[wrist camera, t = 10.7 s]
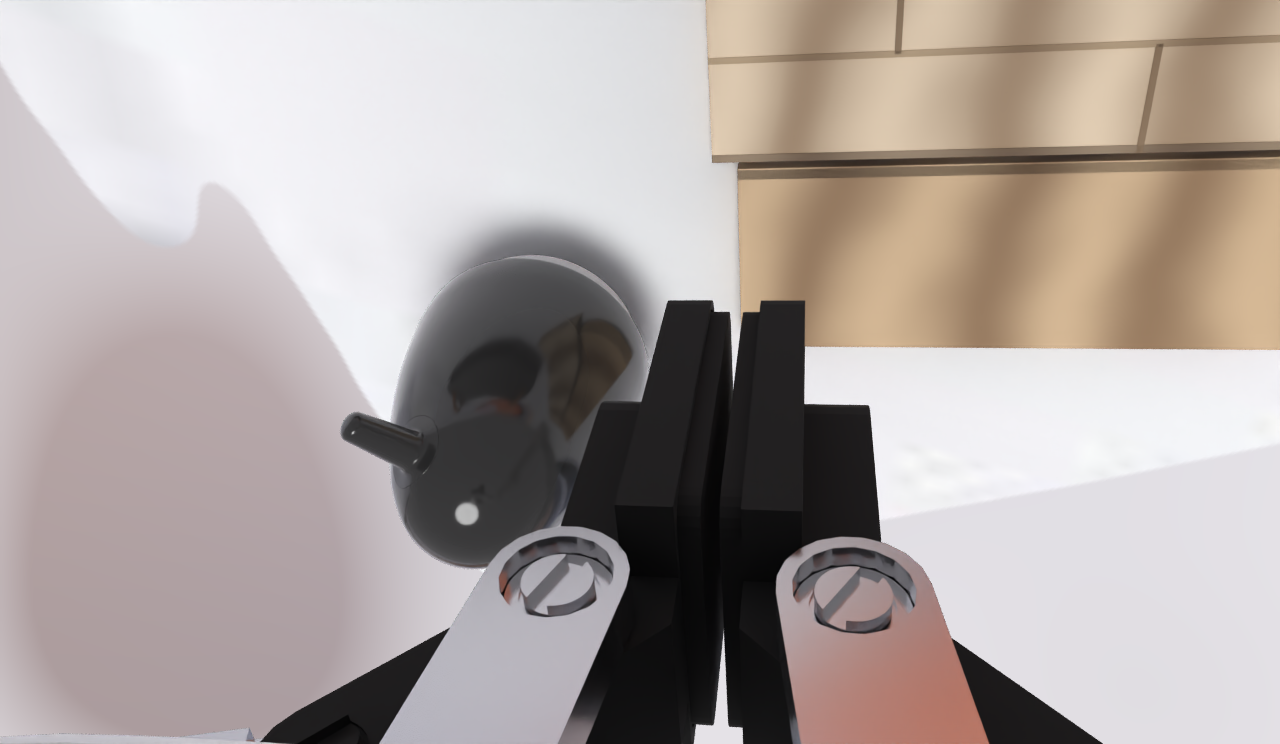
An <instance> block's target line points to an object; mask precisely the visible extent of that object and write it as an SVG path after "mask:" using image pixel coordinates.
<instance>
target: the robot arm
mask: <svg viewBox="0 0 1280 744" xmlns="http://www.w3.org/2000/svg"><path fill="white" fill-rule="evenodd" d="M804 374H805V300H761V303H760V312H743V316H742V324H741V332H740V340H739V348H738V356H737V364H736V372H735V380H734V389H733V376H732V347H731V320H730V312H714V305H713V301H712V300H685V301H668V303H667V305H666V309H665V313H664V317H663V321H662V325H661V328H660V332H659V336H658V340H657V344H656V348H655V351H654V355H653V359H652V363H651V367H650V370H649V374H648V378H647V382H646V386H645V390H644V393H643V397H642V401H641V402H637V401H604V402H602V403H601V405H600V407H599V409H598V412H597V415H596V418H595V421H594V424H593V427H592V430H591V433H590V437H589V440H588V443H587V446H586V449H585V452H584V455H583V458H582V461H581V464H580V468H579V471H578V474H577V477H576V480H575V483H574V486H573V489H572V492H571V495H570V498H569V502H568V505H567V508H566V511H565V514H564V517H563V520H562V523H561V526H559V527H553V528H547V529H541V530H537V531H535V532H532V533H530V534H527V535H525V536H522V537H520V538H518V539H516V540H515V541H513V542H512V543H510V544H509V545H507V546H506V547H504V548H503V549H501V551H500V552H499V553H498V554H497V555H496V556H495V558H494V559H493V560H492V561H491V562H490V563H489V565H488V567H487V568H486V570H485V571H484V573H483V575H482V576H481V578H480V580H479V581H478V583H477V585H476V586H475V588H474V589H473V591H472V593H471V594H470V596H469V598H468V600H467V601H466V603H465V604H464V606H463V607H462V610H461V611H460V612H459V614H458V616H457V617H456V619H455V621H454V622H453V624H452V626H451V627H450V628H448V629H447V630H445V631H443V632H441V633H439V634H437V635H436V636H434V637H432V638H430V639H428V640H427V641H424V642H423V643H421V644H419V645H417V646H415V647H414V648H412V649H410V650H408V651H406V652H404V653H403V654H401V655H399V656H397V657H396V658H394V659H392V660H390V661H388V662H386V663H384V664H382V665H381V666H379V667H377V668H375V669H373V670H371V671H370V672H368V673H366V674H364V675H362V676H361V677H359V678H357V679H355V680H353V681H351V682H349V683H348V684H346V685H344V686H342V687H341V688H339V689H337V690H335V691H333V692H331V693H330V694H328V695H326V696H324V697H322V698H320V699H318V700H316V701H315V702H313V703H311V704H309V705H307V706H306V707H304V708H302V709H300V710H298V711H296V712H295V713H294V714H292V715H291V716H289V717H288V718H286V719H285V720H283V721H282V722H281V723H279V724H277V725H276V726H275V727H273V729H272V730H271V731H270V732H269V733H268V734H267V735H266V736H265V737H264V738H261V739H254V737H253V735H252V733H251V730H250V728H244V729H237V730H229V731H221V732H214V733H206V734H198V735H191V736H183V737H160V736H140V735H139V736H138V735H103V734H102V735H101V734H64V733H62V734H45V735H44V734H42V735H23V736H4V737H0V744H694V736H695V728H696V724H699V725H713V724H714V719H715V710H716V701H717V690H718V681H719V671H720V661H721V651H722V641H723V631H724V642H725V662H726V685H727V705H728V724H729V727H742V728H743V744H1103V743H1101V742H1100V741H1098V740H1097V739H1095V738H1094V737H1093V736H1091V735H1090V734H1088V733H1087V732H1085V731H1084V730H1083V729H1081V728H1080V727H1078V726H1077V725H1075V724H1074V723H1073V722H1071V721H1070V720H1068V719H1067V718H1065V717H1064V716H1062V715H1061V714H1060V713H1058V712H1057V711H1055V710H1054V709H1052V708H1051V707H1049V706H1048V705H1047V704H1045V703H1044V702H1042V701H1041V700H1040V699H1038V698H1037V697H1035V696H1034V695H1032V694H1031V693H1030V692H1028V691H1027V690H1025V689H1024V688H1022V687H1021V686H1020V685H1018V684H1017V683H1015V682H1014V681H1012V680H1011V679H1010V678H1008V677H1007V676H1005V675H1004V674H1002V673H1001V672H1000V671H998V670H996V669H995V668H994V667H992V666H991V665H989V664H988V663H987V662H985V661H984V660H982V659H981V658H979V657H978V656H977V655H975V654H974V653H972V652H971V651H969V650H968V649H967V648H965V647H964V646H962V645H961V644H959V643H958V642H957V641H955V640H953V639H952V638H951V636H950V633H949V631H948V628H947V625H946V622H945V619H944V616H943V613H942V611H941V608H940V605H939V602H938V599H937V597H936V594H935V591H934V588H933V586H932V583H931V582H930V580H929V578H928V576H927V575H926V573H925V571H924V570H923V568H922V567H921V566H920V565H919V564H918V563H916V562H915V561H914V560H913V559H912V558H911V557H910V556H909V555H907V554H906V553H904V552H902V551H900V550H898V549H896V548H894V547H892V546H890V545H888V544H886V543H882V542H881V534H880V524H879V523H880V522H879V510H878V498H877V487H876V475H875V463H874V451H873V440H872V428H871V416H870V408H869V406H868V405H819V404H804Z"/></svg>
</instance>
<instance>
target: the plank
mask: <svg viewBox="0 0 1280 744" xmlns="http://www.w3.org/2000/svg"><path fill="white" fill-rule="evenodd" d="M737 170H738V212H739V254H740V296H741V324H742V316H743V312H760V303H761V300H805V346H811V347H952V348H1093V349H1234V350H1280V150H1244V151H1201V152H1158V153H1115V154H1072V155H1029V156H985V157H942V158H899V159H856V160H813V161H770V162H739V164H738V169H737Z"/></svg>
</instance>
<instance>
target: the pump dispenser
mask: <svg viewBox="0 0 1280 744" xmlns="http://www.w3.org/2000/svg"><path fill="white" fill-rule="evenodd" d="M648 374H649V368H648V359H647V353H646V349H645V346H644V343H643V340H642V337H641V335H640V333H639V331H638V329H637V327H636V325H635V323H634V321H633V319H632V317H631V315H630V313H629V311H628V310H627V308H626V307H625V305H624V303H623V302H622V301H621V299H620V298H619V297H618V295H617V294H616V293H615V292H614V291H613V290H612V289H611V288H610V287H609V286H608V285H607V284H606V283H605V282H604V281H603V280H601V279H600V278H599V277H597V276H596V275H595V274H593V273H591V272H590V271H588V270H586V269H585V268H583V267H581V266H579V265H577V264H574V263H572V262H569V261H566V260H563V259H559V258H554V257H549V256H542V255H522V256H514V257H508V258H504V259H500V260H495V261H490V262H486V263H483V264H480V265H477V266H475V267H472V268H470V269H468V270H466V271H464V272H462V273H461V274H459V275H458V276H456V277H455V278H453V279H452V280H451V281H450V282H448V283H447V284H446V285H445V286H444V287H443V288H442V289H441V290H440V291H439V292H438V294H437V295H436V296H435V297H434V299H433V300H432V301H431V303H430V304H429V306H428V307H427V309H426V311H425V312H424V314H423V316H422V317H421V319H420V321H419V323H418V325H417V328H416V330H415V332H414V335H413V337H412V340H411V342H410V345H409V347H408V350H407V353H406V355H405V358H404V361H403V364H402V367H401V371H400V374H399V378H398V382H397V386H396V391H395V396H394V402H393V408H392V416H391V423H390V422H387V421H384V420H381V419H378V418H375V417H372V416H369V415H366V414H364V413H361V412H353V413H351V414H349V415H348V416H347V417H346V418H345V420H344V422H343V424H342V426H341V431H340V432H341V437H342V439H343V440H345V441H346V442H348V443H350V444H353V445H355V446H356V447H359V448H360V449H362V450H364V451H366V452H368V453H370V454H372V455H374V456H376V457H378V458H380V459H382V460H384V461H386V462H388V463H389V465H390V480H391V487H392V492H393V497H394V501H395V504H396V508H397V511H398V514H399V516H400V519H401V521H402V523H403V525H404V527H405V529H406V531H407V533H408V534H409V535H410V537H411V538H412V540H413V541H414V542H415V543H416V544H417V545H418V546H419V547H420V548H421V549H422V550H423V551H424V552H426V553H427V554H428V555H430V556H431V557H433V558H434V559H436V560H438V561H440V562H442V563H445V564H448V565H450V566H454V567H458V568H464V569H484V568H487V567H488V565H489V563H490V562H491V561H492V560H493V559H494V558H495V556H496V555H497V554H498V553H499V552H500V551H501V549H503V548H504V547H506V546H507V545H509V544H510V543H512V542H513V541H515V540H516V539H518V538H520V537H522V536H525V535H527V534H530V533H532V532H535V531H537V530H541V529H547V528H553V527H559V526H561V523H562V520H563V517H564V514H565V511H566V508H567V505H568V502H569V498H570V495H571V492H572V489H573V486H574V483H575V480H576V477H577V474H578V471H579V468H580V464H581V461H582V458H583V455H584V452H585V449H586V446H587V443H588V440H589V437H590V433H591V430H592V427H593V424H594V421H595V418H596V415H597V412H598V409H599V407H600V405H601V403H602V402H604V401H637V402H641V401H642V397H643V393H644V390H645V386H646V382H647V378H648Z"/></svg>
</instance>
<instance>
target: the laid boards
mask: <svg viewBox="0 0 1280 744" xmlns="http://www.w3.org/2000/svg"><path fill="white" fill-rule="evenodd" d="M706 21H707V46H708V70H709V94H710V119H711V143H712V163H726V162H770V161H813V160H856V159H899V158H942V157H985V156H1029V155H1072V154H1115V153H1158V152H1201V151H1244V150H1280V0H706Z"/></svg>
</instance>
